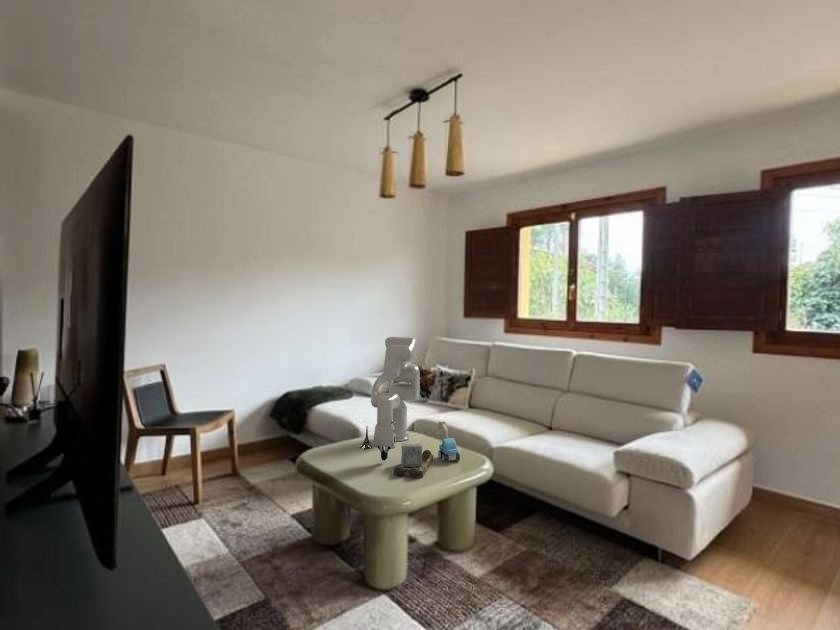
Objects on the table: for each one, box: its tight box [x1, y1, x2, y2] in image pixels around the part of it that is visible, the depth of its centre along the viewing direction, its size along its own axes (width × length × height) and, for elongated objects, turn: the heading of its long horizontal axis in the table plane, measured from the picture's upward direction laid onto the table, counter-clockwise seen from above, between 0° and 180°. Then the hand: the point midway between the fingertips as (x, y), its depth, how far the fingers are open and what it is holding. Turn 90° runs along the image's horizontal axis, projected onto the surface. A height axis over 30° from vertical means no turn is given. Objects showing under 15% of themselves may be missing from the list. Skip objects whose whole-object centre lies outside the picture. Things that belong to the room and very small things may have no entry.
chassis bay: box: [393, 449, 434, 479], centre depth 218 cm, size 26×14×4 cm, turn 166°
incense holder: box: [400, 442, 423, 469], centre depth 220 cm, size 10×8×10 cm
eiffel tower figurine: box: [359, 425, 374, 451], centre depth 244 cm, size 15×10×13 cm
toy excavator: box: [437, 420, 461, 463], centre depth 231 cm, size 9×17×17 cm, turn 18°
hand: (384, 459), depth 222 cm, fingers closed
